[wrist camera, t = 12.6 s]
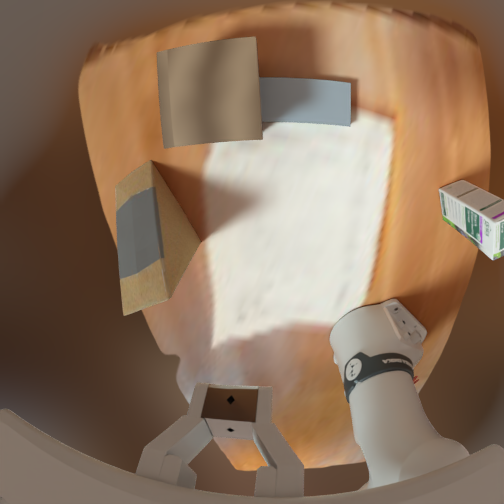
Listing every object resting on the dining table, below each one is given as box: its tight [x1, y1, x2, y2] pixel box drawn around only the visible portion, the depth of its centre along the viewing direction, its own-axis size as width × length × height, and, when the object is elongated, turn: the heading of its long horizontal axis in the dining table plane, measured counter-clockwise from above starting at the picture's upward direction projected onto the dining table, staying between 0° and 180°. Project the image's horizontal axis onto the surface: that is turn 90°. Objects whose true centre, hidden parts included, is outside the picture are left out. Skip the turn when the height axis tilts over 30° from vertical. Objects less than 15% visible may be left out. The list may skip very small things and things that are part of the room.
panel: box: [259, 77, 351, 126], centre depth 31 cm, size 20×6×2 cm, turn 91°
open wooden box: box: [157, 37, 263, 148], centre depth 27 cm, size 10×11×10 cm
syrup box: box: [439, 180, 504, 260], centre depth 28 cm, size 6×6×14 cm
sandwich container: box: [116, 160, 201, 316], centre depth 34 cm, size 9×15×15 cm, turn 28°
